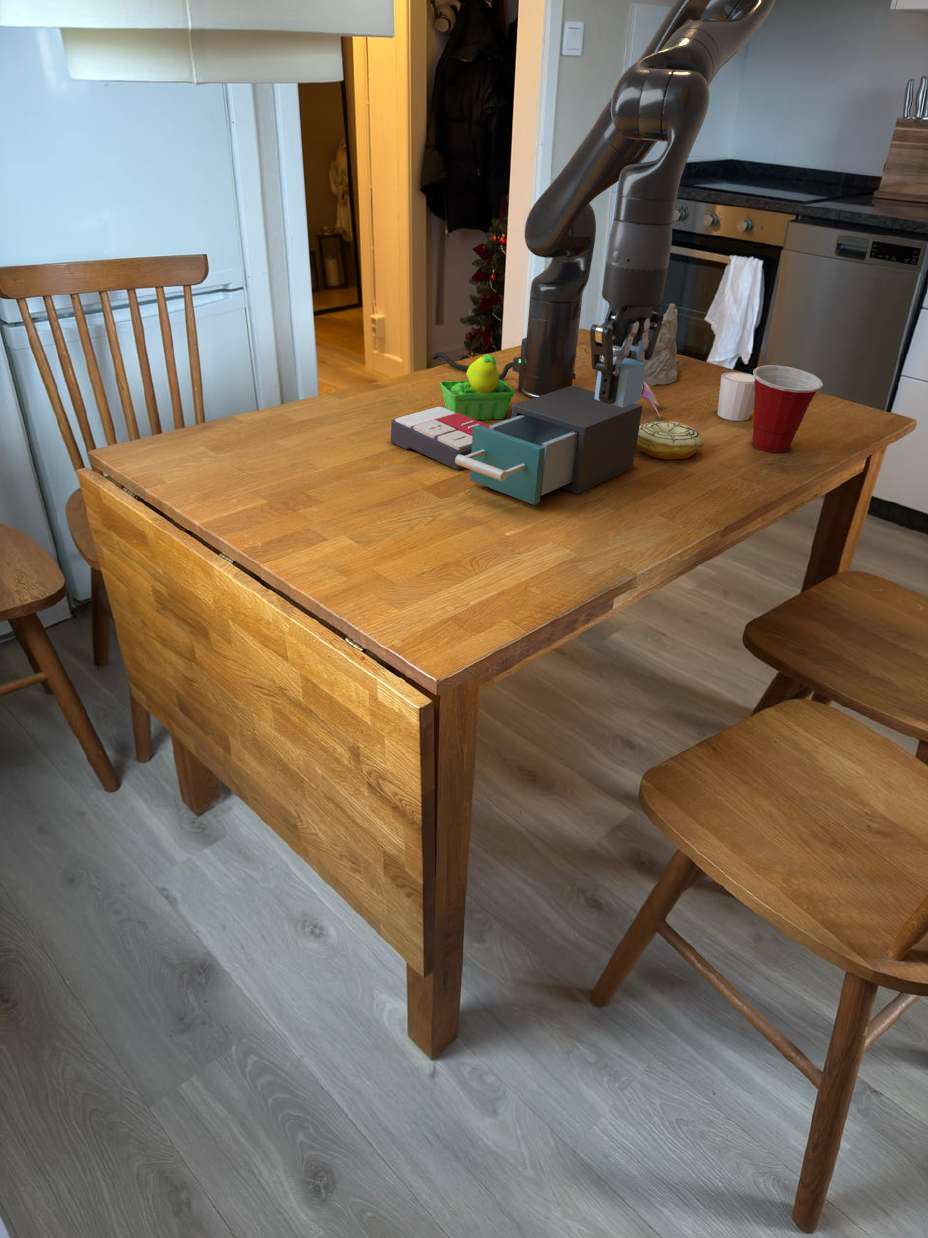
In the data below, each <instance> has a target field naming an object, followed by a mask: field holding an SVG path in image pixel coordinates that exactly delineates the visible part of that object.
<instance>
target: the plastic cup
mask: <svg viewBox="0 0 928 1238" xmlns="http://www.w3.org/2000/svg"><path fill="white" fill-rule="evenodd" d="M752 375H754V378H755V389H754V391H755V398H754V405H753V415H752V445H753V446H754V447H755V448H756V449H758V450H761V451H764V452H768V453H784V452H787V451H788V450H789V448H790V447H791V445H792V443H793V440H794V438H795V435H796V433H797V431H798V430H799V428H800V426H801V423H802V421H803V419H804V418H805V414H806V412H807V411H808V408H809V406H810V403H811V402H812V401H813V398H814V397H815V395H816V394H817V392H819V390H820V389H821V388H822V387H823V385H824V384H823V381H822V379H821V378H819V377H818V376H816V375H815V374H813V373H811V372H808V371H805V370H804V369H799V368H795V367H791V366H785V365H774V364H773V365H772V364H771V365H769V364H768V365H760V366H757V367H756V368H754V369H753V371H752Z"/></svg>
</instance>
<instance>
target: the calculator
mask: <svg viewBox="0 0 928 1238" xmlns="http://www.w3.org/2000/svg"><path fill="white" fill-rule="evenodd" d="M477 425H480V426H483V427H486V428H489V426H490V425H487V424H486V423H483V422H481V421H480V420H474V419H472V418H469V417H467V416H465V415H462V414H460V413H455V412H453V411H450V410H448V409H446V407H443V406H436V407H431V408H429V409H425V410H422V411H417V412H414V413H410V414H407V415H403V416H399V417H397V418H395V419H393V420H391V423H390V443H391V444H394V445H396V446H398V447H400V448H402V449H404V450H409V449H412V450H413V451H415V452H418V453H420V454H422V455H424V456H426V457H428V458H430V459H432V460H435V461H437V462H438V463H441V464H443V465H445V466H447V467H449V468H452V469H453V470H456V471H460V470H463V469H466V468H465V467H462V466H460V465H457V464H456V463H455V458H456V456H457V455H459V454H460V455H463V456H466V455H468V454H471V453H472V434H473V427H474V426H477Z"/></svg>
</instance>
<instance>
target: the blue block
mask: <svg viewBox="0 0 928 1238" xmlns="http://www.w3.org/2000/svg"><path fill="white" fill-rule="evenodd" d="M615 359H616V356H615V357H613V365H614V362H615ZM645 367H646V363H644V362H640V361H636V360H632V359H628V358H624V360H623V363H622V366H621V370H620V373H619V381H618V388H617V395H616V401H615V402H614V403H612V405H615V406H619V407H622V408H623V407H625V406H628V405H630V404H633V403H635V404H636V403H638V402H641V398H642V397H641V392H642V386H643V379H644V373H645ZM600 383H601V372H600V371H597V375H596V383H595V391H594V392H595V398H594V399H595V400H598V401H600V400H599V390H600Z"/></svg>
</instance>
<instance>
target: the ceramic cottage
mask: <svg viewBox="0 0 928 1238" xmlns="http://www.w3.org/2000/svg"><path fill="white" fill-rule="evenodd" d="M663 316H664V318H663V322H662V325H661V328H660V332H659V335H658V338H657V342H656V345H655V348H654V352H653V355H652V358H651V359H650V360H645V363H646V367H645V373H644V379H643V381H644V382H645V383H646V384H647V385H648V384H650V385H651V384H653V385H654V383H655V385H662V386H663V385H668V384H672V383H675V382H677V380H678V374H679V370H680V369H679V364H680V359H678V358H677V351H678V350H677V349H678V347H677V343H676V341H677V340H676V339H677V334H678V327H679V324H678V323H679V322H678V309H677V308H676V304H675V303H669V305H668V308H667V310H666V312H665V313H664V314H663ZM648 330H651V329H648ZM648 343H649V340H648ZM621 348H622V347H618V346H614V345H613V349H617V350H620V349H621ZM613 357H615V355H613ZM651 381H652V382H651Z"/></svg>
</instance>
